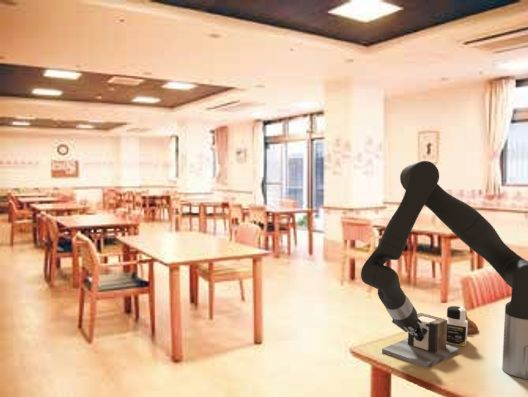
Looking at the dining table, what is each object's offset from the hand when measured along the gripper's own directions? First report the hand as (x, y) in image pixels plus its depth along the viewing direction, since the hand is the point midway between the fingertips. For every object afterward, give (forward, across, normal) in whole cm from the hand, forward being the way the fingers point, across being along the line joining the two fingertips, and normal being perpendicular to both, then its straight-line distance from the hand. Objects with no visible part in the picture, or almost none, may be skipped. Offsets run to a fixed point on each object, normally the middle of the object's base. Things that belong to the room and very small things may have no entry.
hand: (420, 338), depth 153 cm
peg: (+4, 0, 0) cm, 4 cm away
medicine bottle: (+17, -2, -10) cm, 20 cm away
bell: (+27, +3, -20) cm, 34 cm away
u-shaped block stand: (+4, 0, +3) cm, 5 cm away
